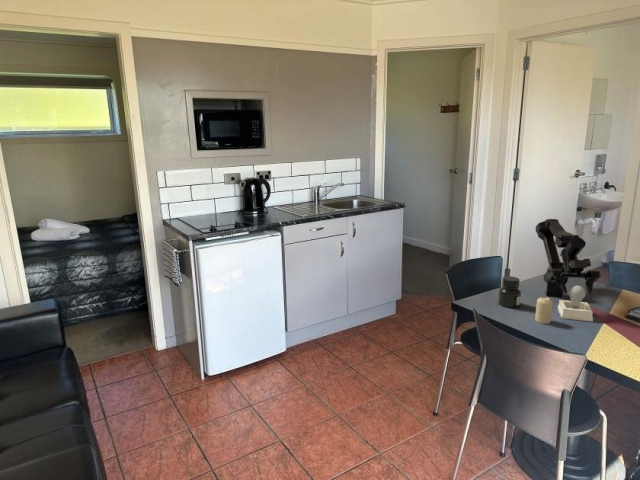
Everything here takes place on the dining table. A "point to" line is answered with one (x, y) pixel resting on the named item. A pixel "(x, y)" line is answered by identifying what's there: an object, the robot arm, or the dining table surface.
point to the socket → (575, 311)
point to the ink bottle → (509, 292)
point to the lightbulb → (576, 295)
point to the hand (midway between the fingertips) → (578, 294)
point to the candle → (543, 310)
